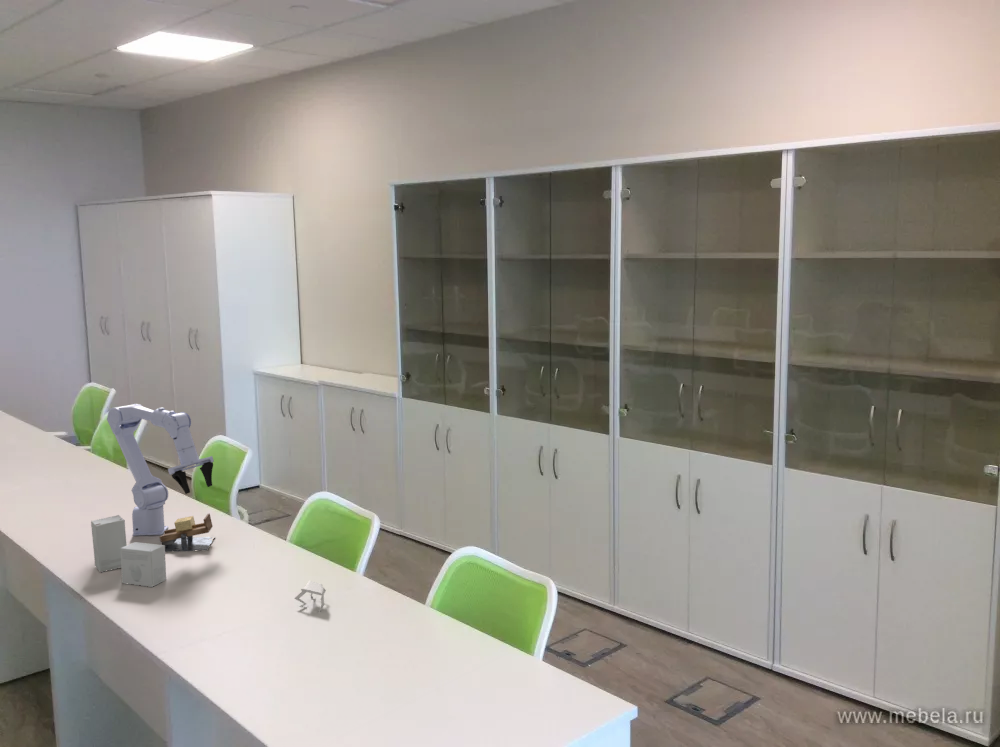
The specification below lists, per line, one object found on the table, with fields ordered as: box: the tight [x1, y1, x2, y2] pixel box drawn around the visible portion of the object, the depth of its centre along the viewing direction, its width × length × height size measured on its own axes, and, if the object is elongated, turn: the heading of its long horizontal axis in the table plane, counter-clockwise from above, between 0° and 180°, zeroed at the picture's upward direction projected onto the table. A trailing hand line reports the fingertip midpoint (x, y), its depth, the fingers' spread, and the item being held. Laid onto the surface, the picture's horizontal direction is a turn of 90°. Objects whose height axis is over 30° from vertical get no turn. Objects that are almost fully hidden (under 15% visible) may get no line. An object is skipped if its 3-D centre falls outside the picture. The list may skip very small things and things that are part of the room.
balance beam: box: [159, 513, 214, 545], centre depth 269 cm, size 15×6×6 cm, turn 96°
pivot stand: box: [165, 534, 213, 553], centre depth 270 cm, size 15×12×5 cm
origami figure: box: [294, 580, 327, 613], centre depth 224 cm, size 12×8×5 cm
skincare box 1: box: [90, 514, 128, 573], centre depth 249 cm, size 8×6×15 cm
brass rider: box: [174, 515, 196, 533], centre depth 269 cm, size 5×4×4 cm
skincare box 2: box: [120, 541, 167, 588], centre depth 239 cm, size 10×6×10 cm, turn 74°
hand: (199, 489), depth 269 cm, fingers open, 7 cm apart
